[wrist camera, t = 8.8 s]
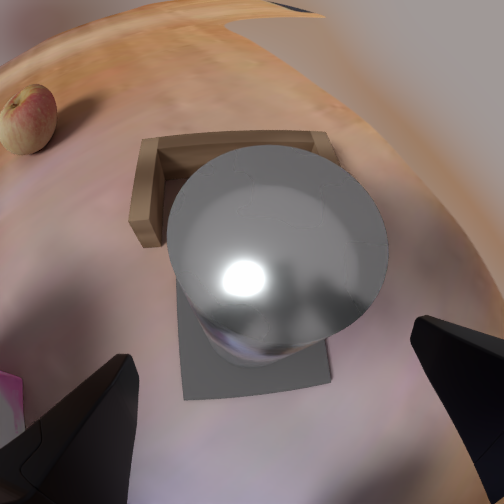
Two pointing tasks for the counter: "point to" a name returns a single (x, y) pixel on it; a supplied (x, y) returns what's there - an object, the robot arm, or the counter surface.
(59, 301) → the counter surface
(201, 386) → the rubber mat
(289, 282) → the steel tin
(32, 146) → the apple
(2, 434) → the gum box
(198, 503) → the counter surface
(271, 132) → the walnut rack
